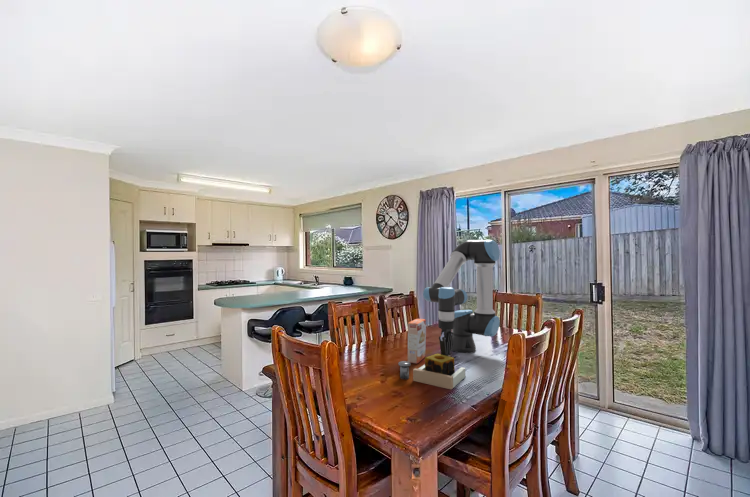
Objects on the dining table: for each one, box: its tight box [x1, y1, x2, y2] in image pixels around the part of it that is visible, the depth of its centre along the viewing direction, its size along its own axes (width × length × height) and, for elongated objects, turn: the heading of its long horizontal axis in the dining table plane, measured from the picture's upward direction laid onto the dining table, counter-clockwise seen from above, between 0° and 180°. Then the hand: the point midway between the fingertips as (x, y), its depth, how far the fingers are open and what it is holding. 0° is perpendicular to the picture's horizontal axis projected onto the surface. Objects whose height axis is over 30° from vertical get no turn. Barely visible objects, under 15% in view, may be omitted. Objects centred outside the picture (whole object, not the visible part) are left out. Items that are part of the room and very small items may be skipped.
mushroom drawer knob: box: [398, 360, 412, 380], centre depth 160 cm, size 6×6×7 cm
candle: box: [424, 353, 456, 376], centre depth 158 cm, size 10×10×10 cm
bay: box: [412, 364, 466, 390], centre depth 159 cm, size 18×18×5 cm
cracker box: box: [407, 318, 427, 364], centre depth 186 cm, size 14×6×21 cm, turn 154°
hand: (446, 368), depth 166 cm, fingers closed
